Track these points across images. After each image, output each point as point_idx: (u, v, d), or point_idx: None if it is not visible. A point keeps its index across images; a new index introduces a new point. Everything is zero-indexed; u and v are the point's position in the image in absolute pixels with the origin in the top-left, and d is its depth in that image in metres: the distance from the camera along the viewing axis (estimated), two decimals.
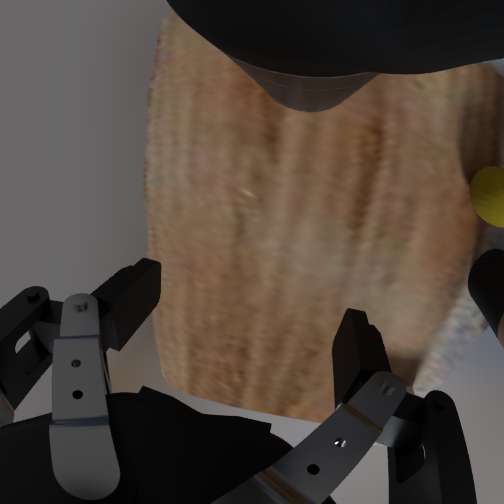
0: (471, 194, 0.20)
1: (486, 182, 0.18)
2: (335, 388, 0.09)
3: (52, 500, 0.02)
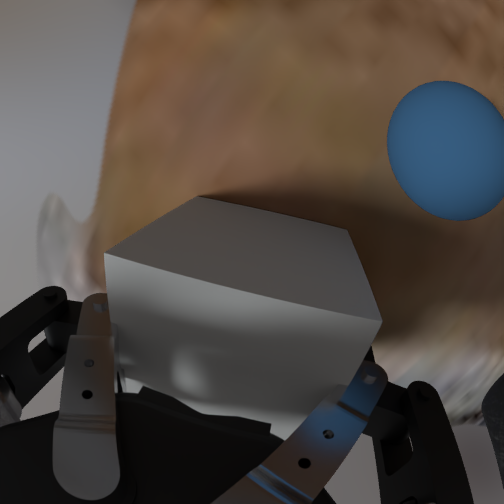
0: None
1: None
2: None
3: (52, 500, 0.02)
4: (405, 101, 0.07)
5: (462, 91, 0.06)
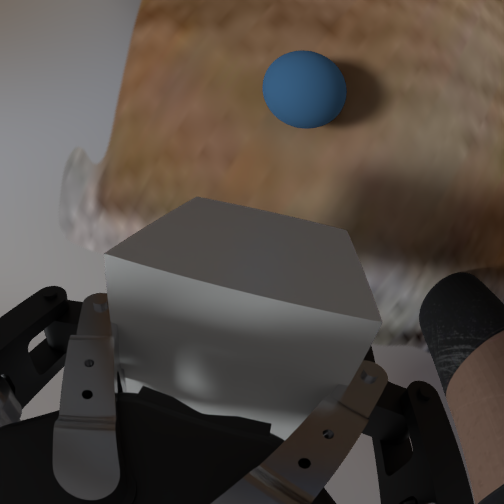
0: None
1: None
2: None
3: (52, 500, 0.02)
4: None
5: (295, 53, 0.13)
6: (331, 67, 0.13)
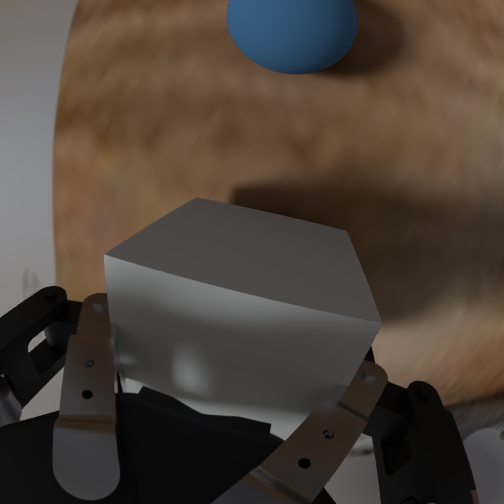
0: None
1: None
2: None
3: (52, 500, 0.02)
4: (227, 18, 0.08)
5: (262, 47, 0.08)
6: (322, 59, 0.08)
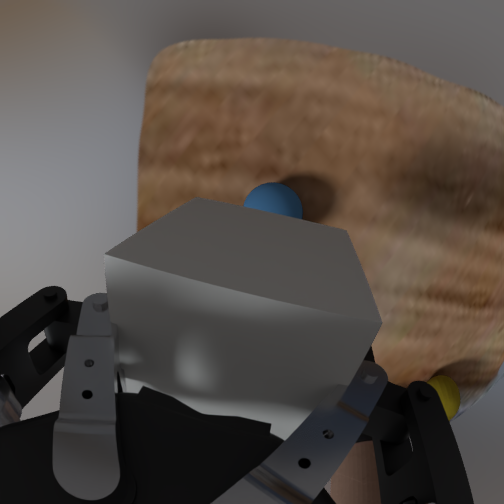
0: (442, 379, 0.27)
1: (456, 390, 0.25)
2: None
3: (52, 500, 0.02)
4: None
5: None
6: None
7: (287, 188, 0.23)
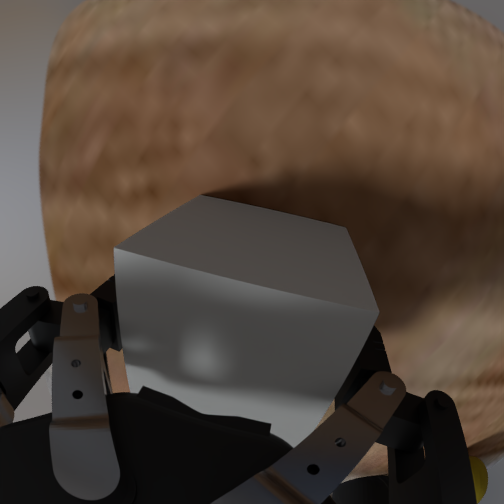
0: (471, 465, 0.15)
1: (485, 477, 0.13)
2: None
3: (52, 500, 0.02)
4: None
5: None
6: None
7: None
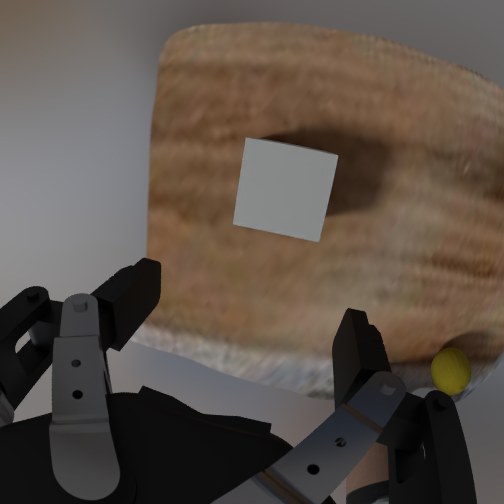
0: (451, 350, 0.28)
1: (466, 360, 0.26)
2: (335, 388, 0.09)
3: (52, 500, 0.02)
4: None
5: None
6: None
7: None
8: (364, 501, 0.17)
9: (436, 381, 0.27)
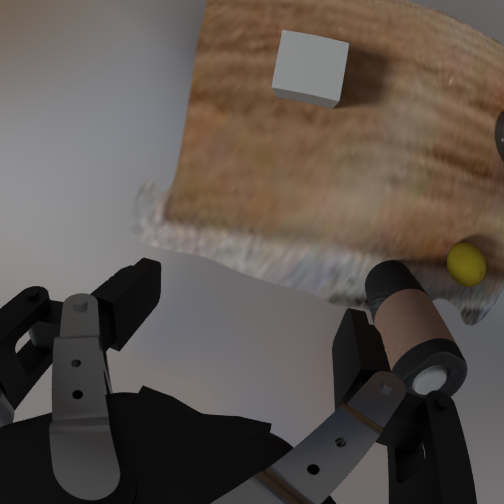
0: (464, 242, 0.30)
1: (479, 250, 0.28)
2: (335, 388, 0.09)
3: (52, 500, 0.02)
4: None
5: None
6: None
7: None
8: (415, 363, 0.19)
9: (455, 270, 0.30)
